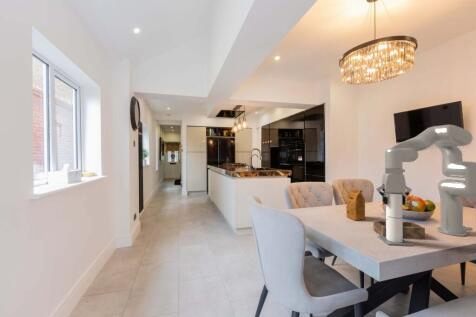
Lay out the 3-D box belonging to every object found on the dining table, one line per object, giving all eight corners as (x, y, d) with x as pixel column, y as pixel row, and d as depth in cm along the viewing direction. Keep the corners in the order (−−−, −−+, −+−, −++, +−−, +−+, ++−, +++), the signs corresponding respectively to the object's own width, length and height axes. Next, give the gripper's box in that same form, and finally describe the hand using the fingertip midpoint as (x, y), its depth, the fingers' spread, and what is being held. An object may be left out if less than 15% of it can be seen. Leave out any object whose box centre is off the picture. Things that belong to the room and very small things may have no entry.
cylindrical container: (395, 243, 111) (395, 194, 112) (383, 238, 118) (382, 192, 118) (406, 241, 113) (405, 194, 114) (392, 236, 120) (392, 192, 120)
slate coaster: (399, 238, 120) (399, 236, 120) (412, 246, 109) (412, 244, 109) (378, 237, 122) (378, 235, 122) (388, 245, 111) (388, 243, 111)
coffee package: (356, 216, 166) (356, 187, 166) (367, 220, 153) (367, 190, 153) (344, 216, 165) (343, 187, 165) (354, 221, 153) (353, 190, 153)
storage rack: (411, 231, 130) (411, 221, 130) (425, 238, 119) (424, 228, 119) (373, 230, 134) (373, 220, 133) (382, 237, 122) (382, 226, 122)
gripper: (407, 171, 118) (407, 203, 118) (372, 171, 121) (373, 202, 121) (416, 172, 110) (416, 206, 110) (379, 172, 113) (379, 205, 113)
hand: (393, 204), depth 116 cm, fingers open, 8 cm apart
